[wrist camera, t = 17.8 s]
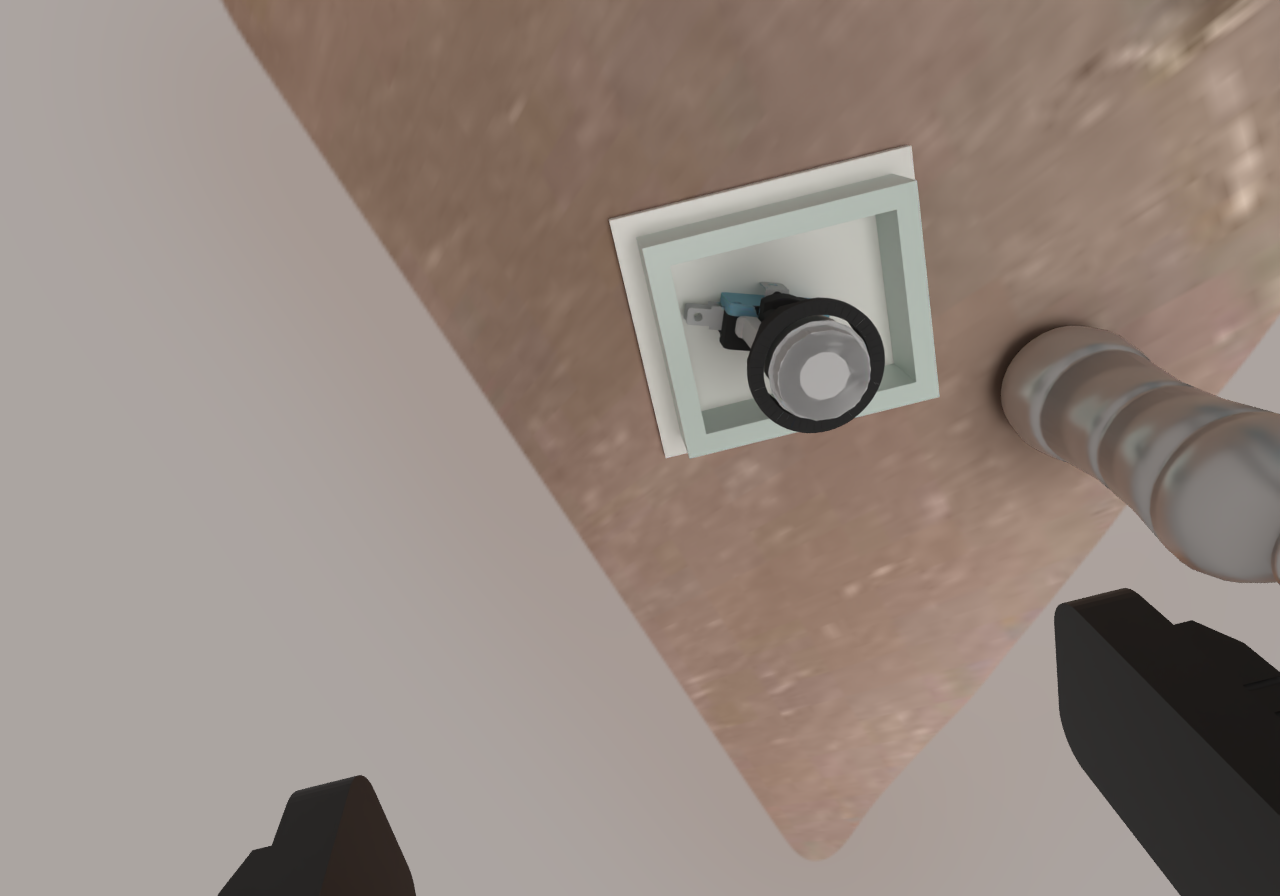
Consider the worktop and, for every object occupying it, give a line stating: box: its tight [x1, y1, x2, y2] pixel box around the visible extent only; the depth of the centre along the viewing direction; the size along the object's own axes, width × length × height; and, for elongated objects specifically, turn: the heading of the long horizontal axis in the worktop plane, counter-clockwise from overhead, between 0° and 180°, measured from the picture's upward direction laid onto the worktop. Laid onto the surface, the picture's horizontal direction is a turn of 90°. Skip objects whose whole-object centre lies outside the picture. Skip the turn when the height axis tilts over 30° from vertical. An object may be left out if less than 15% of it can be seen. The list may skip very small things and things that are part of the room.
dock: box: [609, 145, 940, 459], centre depth 42 cm, size 12×14×4 cm
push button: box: [683, 282, 885, 433], centre depth 39 cm, size 7×5×10 cm
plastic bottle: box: [1001, 326, 1280, 584], centre depth 37 cm, size 6×7×20 cm
